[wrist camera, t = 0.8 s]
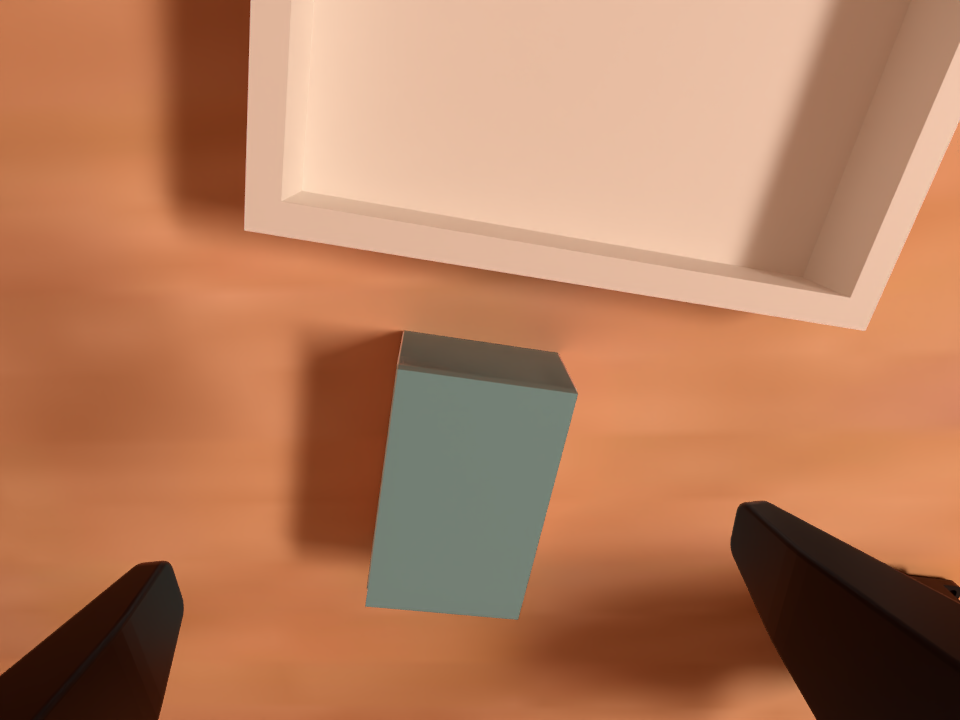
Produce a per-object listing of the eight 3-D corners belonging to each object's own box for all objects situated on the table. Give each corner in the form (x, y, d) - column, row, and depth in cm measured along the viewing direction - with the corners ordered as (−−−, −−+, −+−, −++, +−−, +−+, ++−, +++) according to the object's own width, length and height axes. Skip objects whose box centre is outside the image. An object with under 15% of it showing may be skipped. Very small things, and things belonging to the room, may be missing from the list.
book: (508, 550, 27) (519, 619, 23) (374, 537, 26) (364, 606, 22) (557, 350, 23) (579, 393, 19) (403, 327, 22) (395, 369, 19)
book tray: (804, 300, 23) (865, 331, 19) (275, 212, 20) (243, 230, 17) (997, -185, 17) (1127, -256, 14) (304, -389, 15) (265, -533, 11)
